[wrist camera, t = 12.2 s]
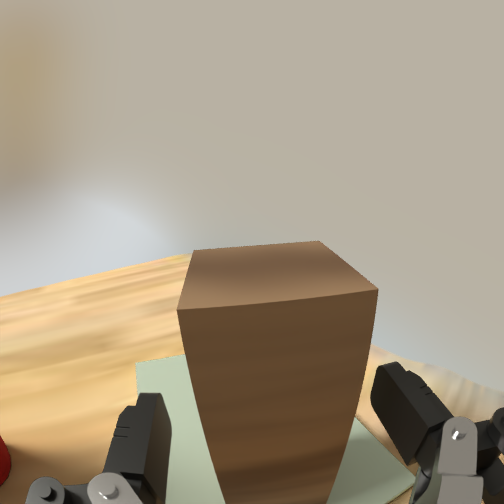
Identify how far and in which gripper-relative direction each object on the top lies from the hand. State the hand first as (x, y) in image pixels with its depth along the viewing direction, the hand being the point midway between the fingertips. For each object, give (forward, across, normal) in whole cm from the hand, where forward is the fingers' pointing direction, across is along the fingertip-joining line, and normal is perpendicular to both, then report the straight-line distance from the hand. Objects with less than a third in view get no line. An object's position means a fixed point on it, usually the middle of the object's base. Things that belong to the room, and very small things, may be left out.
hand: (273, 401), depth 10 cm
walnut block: (+1, 0, +8) cm, 8 cm away
